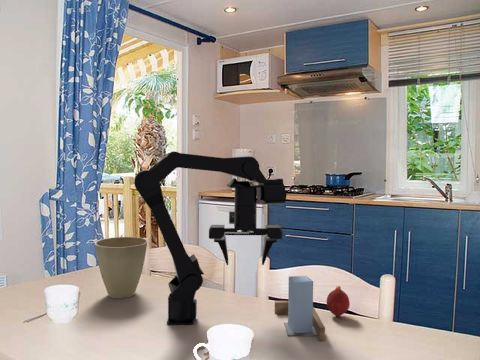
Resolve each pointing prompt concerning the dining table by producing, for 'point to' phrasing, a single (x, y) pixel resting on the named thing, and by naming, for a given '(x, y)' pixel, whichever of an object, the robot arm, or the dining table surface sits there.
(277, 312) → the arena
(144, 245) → the plant pot
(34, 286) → the dining table surface
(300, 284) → the block
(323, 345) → the dining table surface
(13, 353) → the dining table surface
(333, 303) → the onion
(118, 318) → the dining table surface
